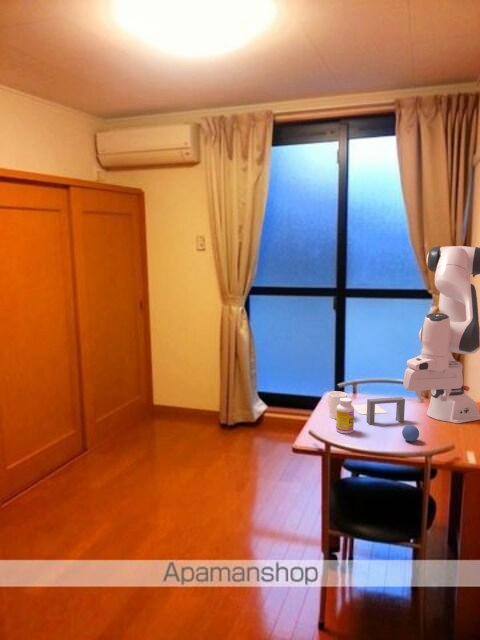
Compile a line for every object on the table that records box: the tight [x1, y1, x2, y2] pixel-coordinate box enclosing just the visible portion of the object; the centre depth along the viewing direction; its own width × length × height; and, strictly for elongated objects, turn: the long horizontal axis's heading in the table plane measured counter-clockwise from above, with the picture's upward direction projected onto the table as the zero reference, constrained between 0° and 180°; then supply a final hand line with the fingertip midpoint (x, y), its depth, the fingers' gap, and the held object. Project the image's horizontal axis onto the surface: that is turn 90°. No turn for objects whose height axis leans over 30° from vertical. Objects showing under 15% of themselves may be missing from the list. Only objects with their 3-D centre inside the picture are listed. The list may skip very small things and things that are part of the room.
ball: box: [401, 424, 420, 443], centre depth 182 cm, size 6×6×6 cm
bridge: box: [366, 396, 406, 425], centre depth 201 cm, size 3×15×10 cm, turn 100°
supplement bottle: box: [335, 397, 355, 435], centre depth 192 cm, size 7×7×13 cm
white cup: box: [327, 390, 348, 420], centre depth 208 cm, size 8×8×10 cm
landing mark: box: [351, 403, 388, 416], centre depth 218 cm, size 12×12×1 cm
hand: (432, 401), depth 167 cm, fingers open, 7 cm apart
